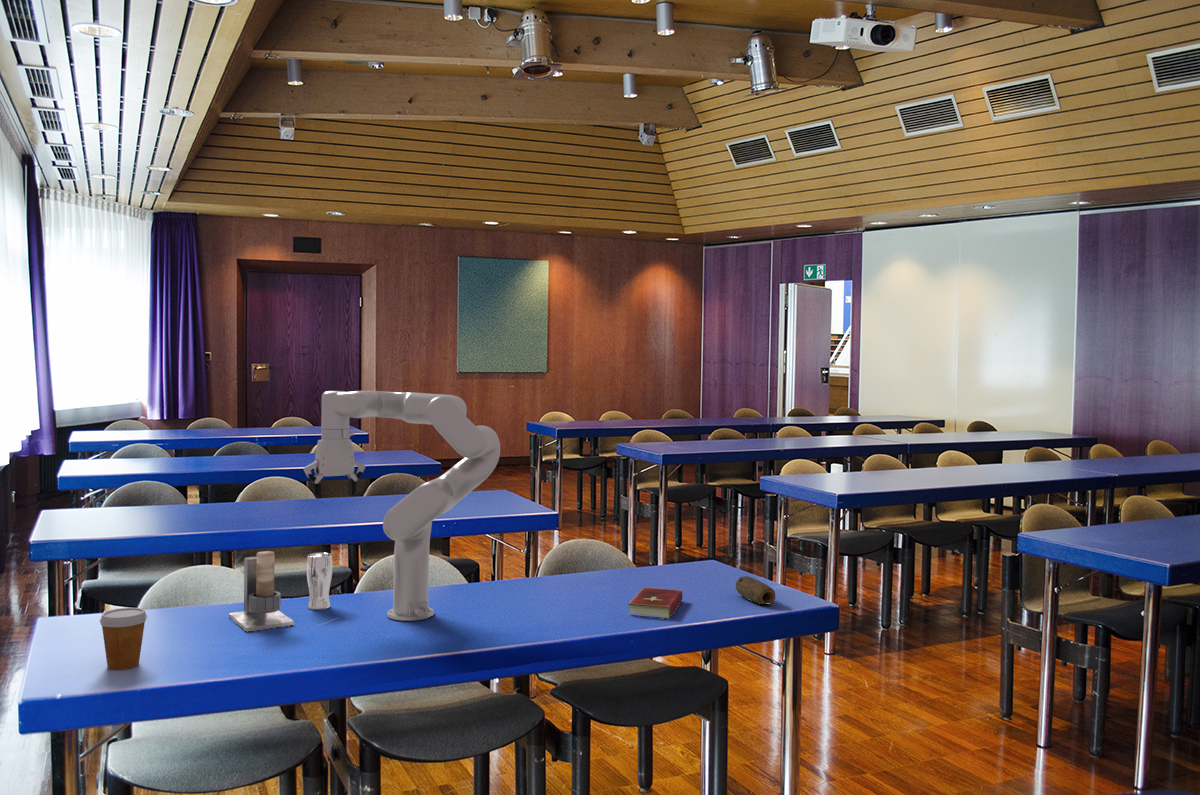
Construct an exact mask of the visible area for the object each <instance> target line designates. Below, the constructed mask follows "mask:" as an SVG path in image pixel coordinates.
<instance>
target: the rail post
mask: <svg viewBox="0 0 1200 795" xmlns="http://www.w3.org/2000/svg"><path fill="white" fill-rule="evenodd" d="M256 556H257V580H256V597H271V596H274V591H275V551H271V550H270V551H269V550H267V551H258V552H256Z"/></svg>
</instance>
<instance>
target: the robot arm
mask: <svg viewBox="0 0 1200 795" xmlns="http://www.w3.org/2000/svg"><path fill="white" fill-rule="evenodd" d="M467 413H468V408H467V404H466V402H465V401H464V400H463V399H462V398H461V397H459V396H457V395H453V394H440V393H427V392H426V393H425V392H413V391H412V392H410V391H409V392H408V391H407V392H397V391H396V392H395V391H380V390H354V391H343V390H339V391H338V390H328V391H327V390H326V391H324V392H323V393H322V394H321V416H320V417H321V418H320V419H321V422H320V423H321V430H320V431H321V432H320V433H321V434H320V435H321V436H320V437H321V438H320V439H318V440H317V443H316V449H315V457H314V461H313V462H311V463H310V464H308V465H306V466H304V467H303V471H304V473H305V476H306V478H308V479H309V480H310V482H312V494H313V495H314V498H317V499H321V498H322V484H321V480H322V479H323V478H324V477H339V476H347V478H348V479H349V480H348V481H347V483H348V484H347V486H348V487H347V494H348V495H349V496H353V497H354V496H355V495H356V491H357V481H358V480H359V479H360V478H361V476H362V475H363V473H364V471H365V469H366V465H365V464H363V463H361V462H359V461H357V460H355V456H354V455H355V453H354V448H353V442H352V439H350V438H351V437H352V436H354V435H355V431H354V430H351V428H350V418H354V419H363V418H364V419H365V418H387V419H397V420H402V421H404V422H405V423H408V424H418V425H419V424H420V425H432V427H434V429H435V430H436V431H437V432H438V433H439V435H440V436H441V437H443V439H444V440H445V441H446V442H447V443H448V444H449V446H451V447H452V448H453V450H455V452H456V453H458V454H459V456H461V457H463V458H462V459H461V460H460V461H458V462H457V463H456V464H454V465H453V466H452V467H451V468H450V469H448V470H447V471H446V472H444V473H443V474H442V475H440V476H439V477H436V478H434V479H432V480H429V481H426V482H424V483H422V484H420V485H419V486H417V487H416V488H414V489H413V490H412V491H410V492H409V494H406V496H405V497H403V498H402V499H401V500H400V501H398V502H397V503H396V504H395V505H393V506H392V507H391V508H390V509H388V511H387V512H386V513H385V514H384V517H383V520H382V529H383V533H384V534H385V535H386V537H388V538H389V539H390V540H392V541H394V550H393V588H392V589H393V594H392V595H393V596H392V597H393V600H392V601H393V603H392V606H393V607H392V608H391V609H389V610H387V612H386V614H387V618H389V619H391V620H395V621H403V622H411V621H415V622H416V621H423V620H427V619H430V618H432V617H433V616H435V615H434V614H435V612H434V611H435V610H434V609H433V608H431V607H429V592H430V591H429V586H430V585H429V584H430V583H429V581H430V574H429V572H430V569H429V568H430V541H431V533H432V526H433V521H434V520H435V519H437V518H438V517H440V516H441V515H443V514H445V513H447V512H449V511H451V510H452V509H453V508H454V507H455V506H456V505H457V504H458V503H460V501H462V500H463V499H464V498H465V497H466V496H469V494H470V493H471V492H473V491H474V490H475V489H476V488H477V487H479V486H480V485H481V484H482V483H483V482H484V481H485V480H486V479H488V477H490V475H491V474H492V473H493V471H494V470H495V469H496V467H497V465H498V462H499V460H500V455H501V442H500V439H499V436H498V433H496V431H495V430H493V428H491V427H489V426H487V425H482V424H481V425H475V424H474V423H473V422H472V421H471V419H469V417H467ZM355 467H357V471H356V472H355ZM313 469H314V473H315V475H313V474H312V470H313ZM431 616H432V617H431ZM429 617H430V618H429Z"/></svg>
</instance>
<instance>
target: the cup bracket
mask: <svg viewBox="0 0 1200 795" xmlns="http://www.w3.org/2000/svg"><path fill="white" fill-rule="evenodd" d="M243 561H244V563H243V564H244V565H243V566H244V567H243V569H244V571H243V572H244V573H243V611H236V612H229V613H228V618H229V617H230V618H231V619H232V620H233V621H235V622H236V623H237V624H238V625H239V626H240V627H242V628H243V629H244V630H245V631H247V633H249V632H248V631H254V632H257V631H256V630H261V631H263V630H262V629H268V630H270V629H269V628H274V629H277V628H276V627H281V628H284V627H283V626H288V627H291V626H290V625H294V622H295V621H294V620H293V619H292V618H290V617H289V616H287V615H285V613H283V612H281V611H280V610H281V602H282V601H281V600H282V598H281V597H282V596H281V595H282V594H281V592H279V591H276V590H274V596H271V597H256V580H257V555H255V556H249V557H244V559H243ZM230 618H229V619H230ZM231 619H230V620H231ZM232 620H231V621H232ZM233 621H232V622H233ZM236 623H235V624H236ZM237 624H236V625H237ZM238 625H237V626H238ZM239 626H238V627H239ZM240 627H239V628H240ZM242 628H241V629H242ZM243 629H242V630H243ZM244 630H243V631H244ZM245 631H244V632H245Z"/></svg>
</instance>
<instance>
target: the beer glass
mask: <svg viewBox="0 0 1200 795" xmlns="http://www.w3.org/2000/svg"><path fill="white" fill-rule="evenodd" d="M332 556H333V554H332V553H330V552H329V553H328V552H313V553H309V554H307V560H306V561H307V562H306V579H307V586H308V593H309V598H308V599H309V600H308V604H307V609H308V610H314V611H321V610H327V609H329V608H330V607H331V602H330V587H331V583H332V576H333V557H332Z"/></svg>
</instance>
